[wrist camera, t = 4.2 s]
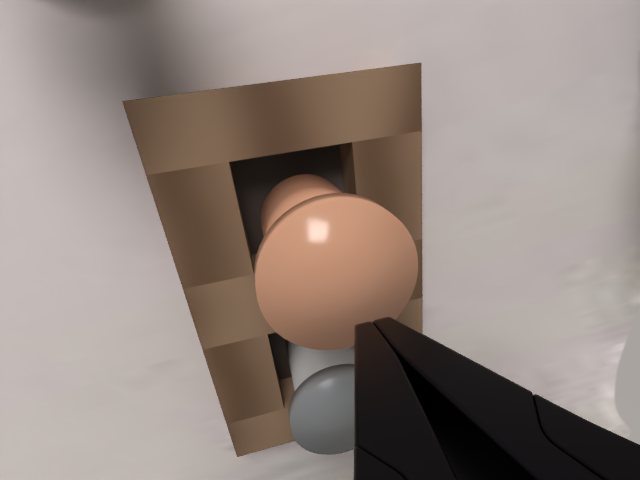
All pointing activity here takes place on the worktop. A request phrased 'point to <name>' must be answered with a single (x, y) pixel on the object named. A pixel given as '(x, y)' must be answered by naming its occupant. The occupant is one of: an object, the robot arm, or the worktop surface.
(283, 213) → the plug terracotta
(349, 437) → the plug grey
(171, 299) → the worktop surface
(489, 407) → the robot arm
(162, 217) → the socket board
